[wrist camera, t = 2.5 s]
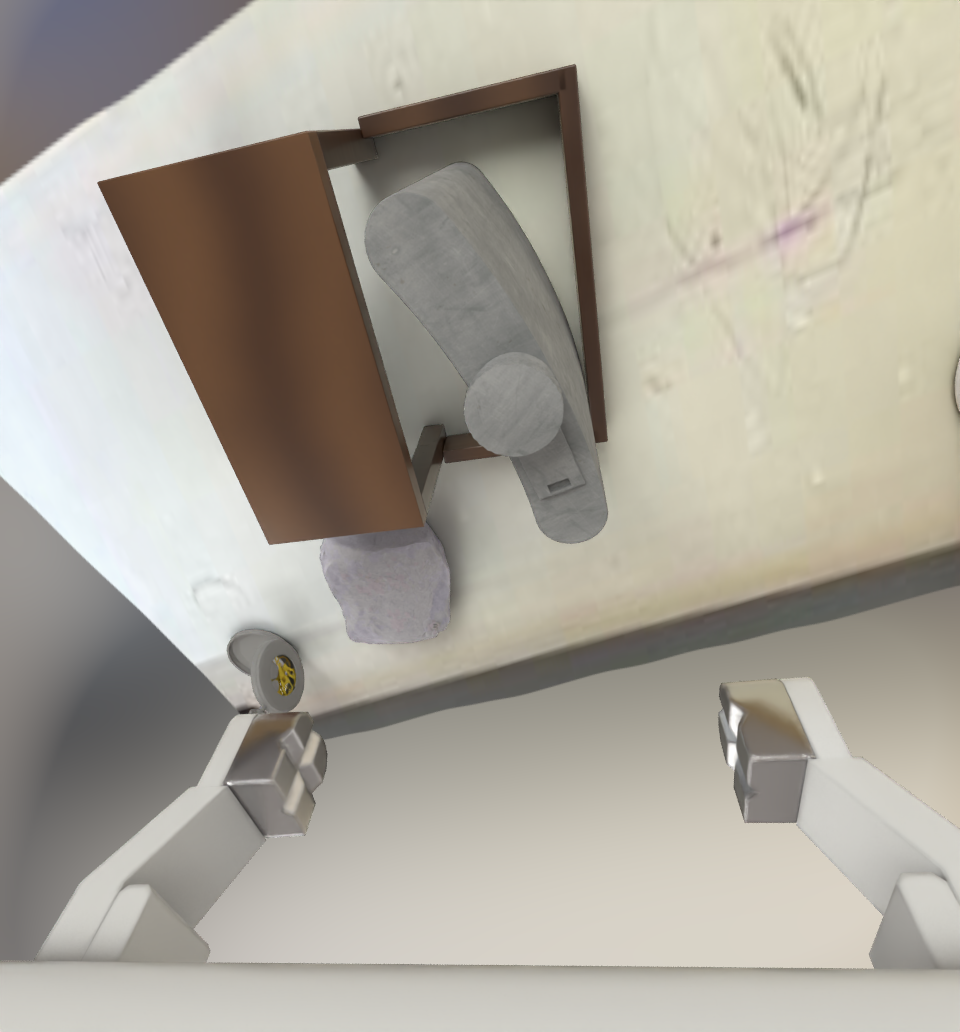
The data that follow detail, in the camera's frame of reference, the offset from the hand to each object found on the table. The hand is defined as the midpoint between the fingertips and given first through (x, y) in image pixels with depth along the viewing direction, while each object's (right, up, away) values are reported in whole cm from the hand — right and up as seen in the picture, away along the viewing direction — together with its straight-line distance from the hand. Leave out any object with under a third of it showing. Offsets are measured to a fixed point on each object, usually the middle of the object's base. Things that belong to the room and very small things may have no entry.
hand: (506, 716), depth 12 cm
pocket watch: (-21, -9, +47) cm, 52 cm away
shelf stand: (-5, +18, +27) cm, 33 cm away
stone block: (-8, -1, +40) cm, 41 cm away
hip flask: (+2, +19, +26) cm, 32 cm away
